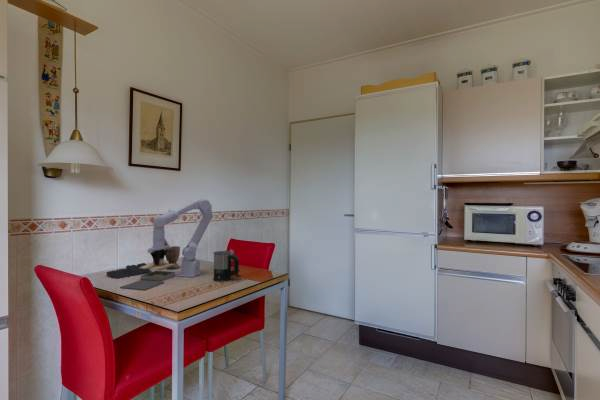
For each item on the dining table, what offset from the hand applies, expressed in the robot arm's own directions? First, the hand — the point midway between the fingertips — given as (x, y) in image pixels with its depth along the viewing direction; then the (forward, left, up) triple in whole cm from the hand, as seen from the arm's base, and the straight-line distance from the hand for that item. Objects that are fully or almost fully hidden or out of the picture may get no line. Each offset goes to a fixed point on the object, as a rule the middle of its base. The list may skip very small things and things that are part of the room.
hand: (158, 264), depth 168 cm
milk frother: (-35, -11, -8) cm, 37 cm away
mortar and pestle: (+8, -21, -8) cm, 24 cm away
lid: (0, 0, -1) cm, 1 cm away
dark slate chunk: (+22, -3, -8) cm, 23 cm away
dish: (0, 0, -7) cm, 7 cm away
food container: (-22, -38, -8) cm, 44 cm away
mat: (-3, +15, -7) cm, 17 cm away
